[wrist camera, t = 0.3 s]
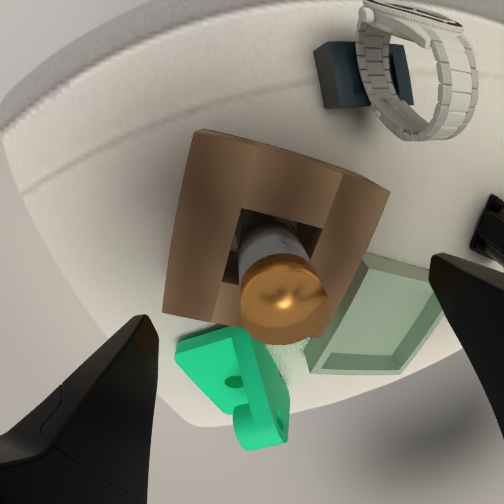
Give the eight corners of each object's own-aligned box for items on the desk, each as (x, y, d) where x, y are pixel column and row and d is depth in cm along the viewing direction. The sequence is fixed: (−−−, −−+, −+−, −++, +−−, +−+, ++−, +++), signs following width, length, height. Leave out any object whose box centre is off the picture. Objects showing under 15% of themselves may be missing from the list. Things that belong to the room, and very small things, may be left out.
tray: (443, 274, 25) (458, 290, 22) (390, 356, 30) (400, 374, 27) (354, 250, 23) (369, 268, 20) (304, 351, 28) (310, 373, 25)
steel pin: (297, 209, 21) (343, 285, 12) (280, 255, 23) (309, 348, 14) (244, 195, 20) (255, 267, 11) (230, 245, 22) (231, 338, 13)
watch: (376, 28, 14) (476, -7, 5) (393, 126, 18) (503, 154, 8) (306, 27, 15) (376, -39, 5) (327, 132, 18) (418, 159, 9)
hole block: (361, 175, 20) (390, 192, 16) (308, 303, 25) (320, 338, 21) (202, 128, 18) (193, 132, 14) (172, 277, 23) (161, 312, 19)
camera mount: (173, 335, 26) (157, 427, 17) (246, 311, 25) (255, 410, 16) (226, 398, 32) (228, 473, 22) (286, 382, 31) (301, 459, 21)
